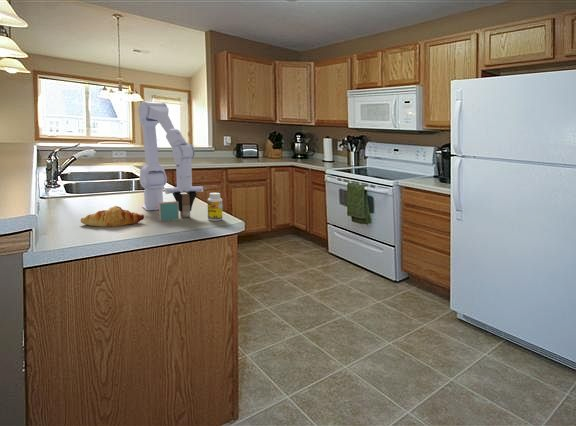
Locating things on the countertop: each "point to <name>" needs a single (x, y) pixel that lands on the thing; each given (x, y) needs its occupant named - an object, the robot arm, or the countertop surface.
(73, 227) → the countertop surface
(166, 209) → the tile
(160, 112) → the robot arm
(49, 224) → the countertop surface
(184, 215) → the wooden rectangular block
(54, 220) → the countertop surface
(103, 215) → the croissant
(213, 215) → the supplement bottle
